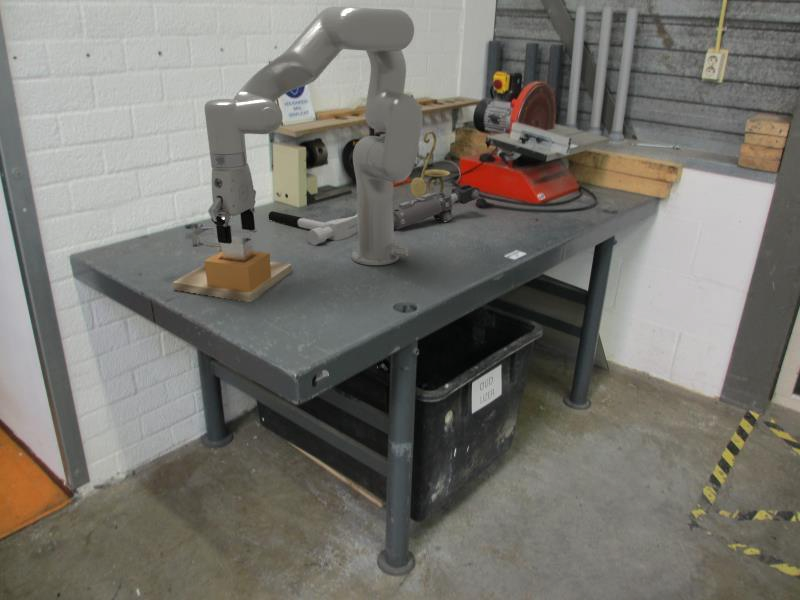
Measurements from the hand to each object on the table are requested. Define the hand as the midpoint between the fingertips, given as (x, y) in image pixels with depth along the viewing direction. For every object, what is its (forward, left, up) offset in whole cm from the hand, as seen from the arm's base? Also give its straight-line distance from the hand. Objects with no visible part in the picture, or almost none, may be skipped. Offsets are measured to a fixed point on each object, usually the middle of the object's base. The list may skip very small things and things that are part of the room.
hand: (237, 235), depth 142 cm
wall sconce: (-21, -88, -13) cm, 91 cm away
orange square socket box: (+4, -4, -13) cm, 14 cm away
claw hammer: (+6, -49, -14) cm, 51 cm away
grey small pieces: (+24, -31, -13) cm, 41 cm away
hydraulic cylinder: (-26, -67, -13) cm, 73 cm away
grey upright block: (0, 0, -11) cm, 11 cm away
